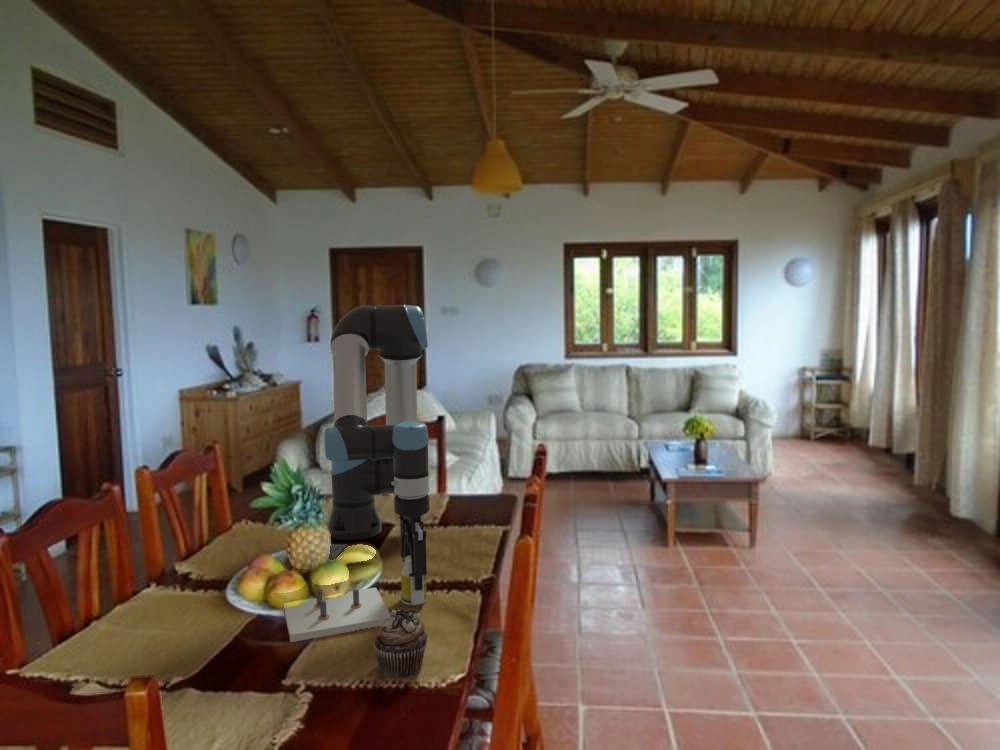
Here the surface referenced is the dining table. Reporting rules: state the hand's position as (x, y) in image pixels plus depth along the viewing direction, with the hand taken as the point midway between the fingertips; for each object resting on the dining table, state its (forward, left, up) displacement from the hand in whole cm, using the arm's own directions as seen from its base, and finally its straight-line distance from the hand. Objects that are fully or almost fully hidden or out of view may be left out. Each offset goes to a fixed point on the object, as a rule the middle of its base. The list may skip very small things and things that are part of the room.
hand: (414, 597), depth 157 cm
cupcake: (+26, -9, -1) cm, 27 cm away
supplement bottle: (0, 0, -1) cm, 1 cm away
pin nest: (+1, -17, -1) cm, 17 cm away
